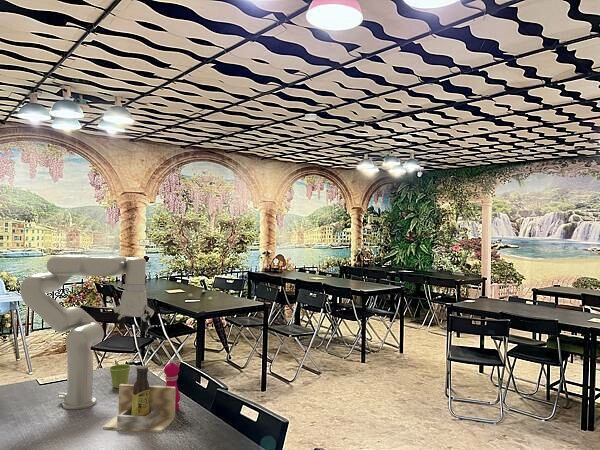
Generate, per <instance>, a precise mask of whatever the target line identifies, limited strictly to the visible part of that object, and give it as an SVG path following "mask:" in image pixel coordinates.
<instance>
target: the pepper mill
mask: <svg viewBox="0 0 600 450" xmlns="http://www.w3.org/2000/svg"><path fill="white" fill-rule="evenodd" d="M179 372H180V366H179V365H178V363H176V362H175V360H174V359H170V360H169V363H167V364H166V365H165V366H164V369H163V373H164V374H165V376H164V377H165V379H164V380H165V381H166V382H165V386H170V387H176V394H175V412H177V411H178V410H179V409H180V404H179V402H180V401H181V393H180V391H179V388H178V379H179V375H178V374H179Z"/></svg>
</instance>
